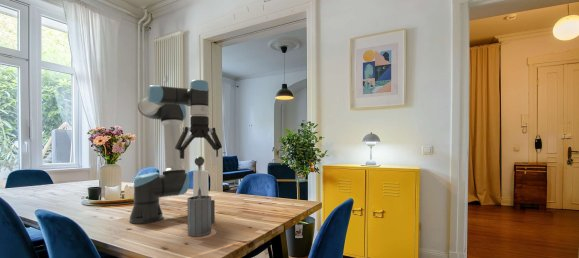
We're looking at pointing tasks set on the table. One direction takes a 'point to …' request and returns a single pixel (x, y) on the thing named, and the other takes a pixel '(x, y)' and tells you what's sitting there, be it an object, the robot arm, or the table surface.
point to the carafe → (200, 216)
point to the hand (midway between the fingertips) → (199, 165)
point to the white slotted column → (203, 183)
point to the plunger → (199, 175)
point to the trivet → (185, 235)
